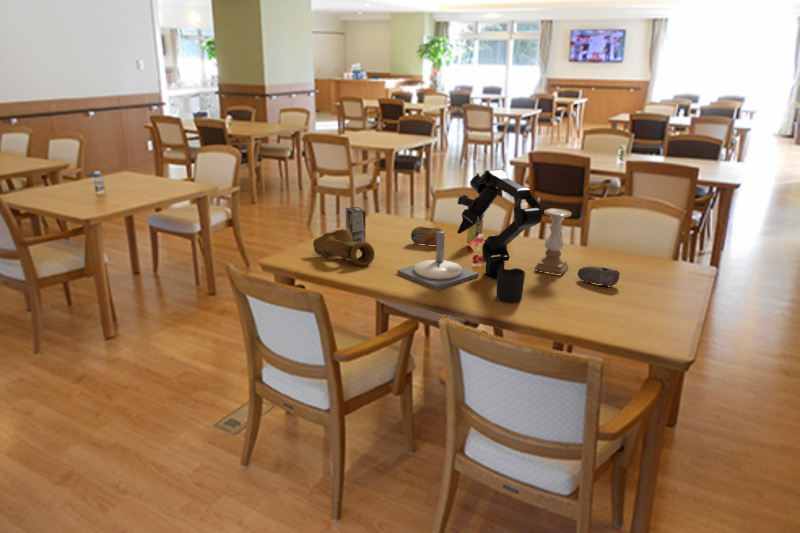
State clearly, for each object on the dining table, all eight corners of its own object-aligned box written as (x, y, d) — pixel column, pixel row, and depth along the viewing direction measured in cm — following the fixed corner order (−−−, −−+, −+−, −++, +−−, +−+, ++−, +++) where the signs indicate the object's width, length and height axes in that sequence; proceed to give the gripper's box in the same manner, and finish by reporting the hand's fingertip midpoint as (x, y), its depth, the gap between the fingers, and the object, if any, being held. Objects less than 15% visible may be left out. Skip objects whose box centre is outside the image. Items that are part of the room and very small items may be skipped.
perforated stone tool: (574, 281, 226) (576, 264, 224) (579, 277, 230) (581, 260, 228) (614, 291, 218) (616, 273, 215) (618, 287, 222) (621, 269, 219)
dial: (471, 272, 228) (473, 238, 224) (438, 283, 217) (439, 247, 212) (437, 260, 241) (439, 228, 236) (404, 269, 229) (405, 236, 225)
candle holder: (534, 271, 236) (540, 212, 228) (541, 263, 245) (547, 206, 237) (561, 276, 231) (568, 216, 223) (568, 268, 240) (575, 210, 232)
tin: (410, 244, 266) (411, 226, 263) (412, 242, 269) (413, 224, 266) (443, 248, 262) (444, 229, 259) (445, 246, 265) (446, 227, 262)
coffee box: (366, 247, 261) (366, 211, 255) (352, 248, 258) (352, 212, 253) (358, 241, 269) (358, 206, 263) (345, 242, 266) (344, 207, 261)
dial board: (478, 276, 229) (478, 272, 228) (437, 290, 215) (438, 285, 214) (437, 262, 244) (437, 258, 243) (397, 273, 230) (397, 269, 229)
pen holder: (503, 291, 215) (506, 265, 212) (527, 298, 209) (530, 271, 206) (490, 298, 208) (492, 272, 205) (514, 306, 203) (516, 278, 199)
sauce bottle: (476, 249, 261) (479, 205, 254) (464, 246, 264) (466, 202, 258) (483, 245, 266) (486, 202, 259) (471, 243, 269) (474, 200, 263)
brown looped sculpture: (356, 231, 256) (379, 237, 238) (350, 261, 257) (372, 268, 238) (316, 223, 247) (337, 228, 228) (310, 254, 248) (330, 261, 229)
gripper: (471, 186, 237) (448, 217, 241) (464, 187, 219) (439, 221, 224) (494, 203, 236) (470, 234, 240) (488, 205, 218) (462, 239, 222)
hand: (460, 232), depth 232 cm, fingers open, 9 cm apart
